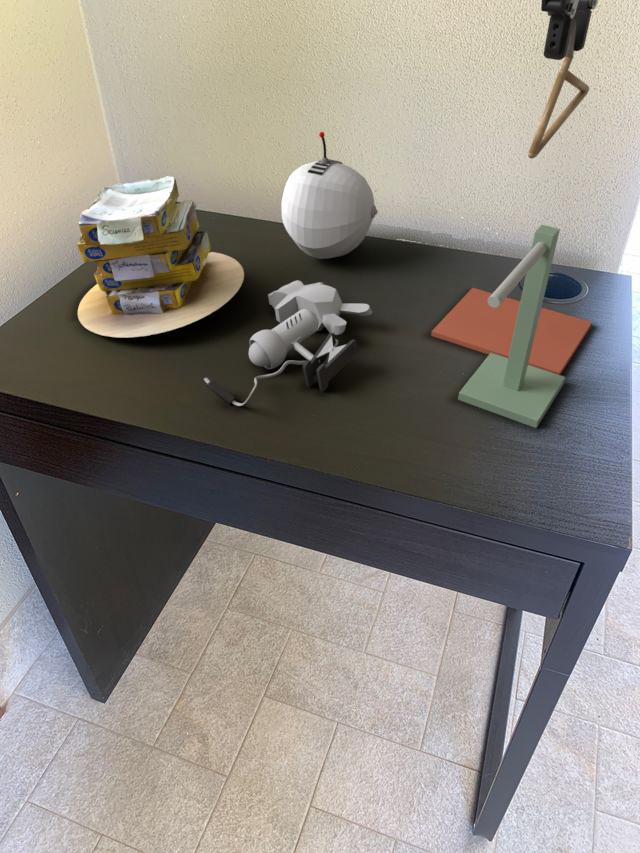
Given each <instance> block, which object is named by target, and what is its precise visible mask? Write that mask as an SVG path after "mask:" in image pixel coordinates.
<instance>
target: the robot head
mask: <svg viewBox="0 0 640 853" xmlns="http://www.w3.org/2000/svg"><path fill="white" fill-rule="evenodd" d="M318 137H319V138H321V141H322V148H323V157H322V158H321V159H320V160H315V161H312V162H308V163H306V164H303V165H301V166H299V167H298V168H296V169H294V170H293V171H292V173H291V174H290V175H289V177H288V179H287V181H286V183H285V186H284V189H283V193H282V198H281V203H280V204H281V219H282V220H281V221H282V223H283V226H284V229H285V231H286V232H287V233H288V236H290V238H291V239H292V241H293V242H294V243H295V245H297V247H298V248H299V249H300V250H301V251H302V252H303V253H304V254H306V255H308V256H310V257H311V258H314V259H319V260H323V259H324V260H326V259H333V258H337V257H343V256H346V255H348V254H350V253H351V252H352V251H354V250H355V249H356V248H358V247H359V245H360V244H361V243H362V242H363V241H364V239H365V238H366V236H367V234H368V233H369V230H370V228H371V226H372V223H373V219H375V217H376V215H377V214H378V212H379V211H378V209H377V207H376V205H375V198H374V193H373V190H372V188H371V186H370V184H369V183H368V181H367V180H366V178H365V177H364V176H363V175H362V174H360V172H358V171H357V170H355V169H354V168H352V167H351V166H348V165H346V164H344V163H343V162H342V161H340V160H334V159H330V158H328V157H327V144H326V139H325V132H323V131H320V132H319V133H318Z"/></svg>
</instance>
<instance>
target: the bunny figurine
mask: <svg viewBox="0 0 640 853" xmlns="http://www.w3.org/2000/svg"><path fill="white" fill-rule="evenodd" d="M267 297H268V298H267V299H268V303H269V304H268V305H270V306H272V308H273V309H274V313H275V319H276V321H277V322H278V323H279V324H281V323H282V322H284V321H285V320H286V319H288V318H289V317H291V316H292V315H294V314H295V313H297V312H298V311H300V310H302V309H307V310H310V311H312V312H314V313H315V315H316V316H317V318H318V323H319V325H318V329H317V331H316V332H320V331H322V330H323V329H324V328H325V329H326V331H328V332H329V333H328V334H330V333H331V332H332V333H334V334H335V336H338V335H342V334H343V333H344V332H345V330H346V327H347V321H346V320H345V319H343V318H342V317H341V314H347V315H348V314H349V315H357V316H363V317H367V316H371V315H372V314H373V311H372V309H371V306H370V305H369V304H368V303H358V302H357V303H356V302H355V303H353V302H352V303H350V302H349V303H348V302H347V303H346V302H345V303H343V301H342V299H341V297H340V294H339V292H338V290H337V288H334V287H333V286H330V285H327V284H324V282H315V283H310V284H304V283H303V282H302V281H301V280H299V279H298V280H294V281H292V282H289V283H288V284H285V285H282V286H281V287H279V288H278V289H277V290H274V291H272V292H270V293H268V294H267Z"/></svg>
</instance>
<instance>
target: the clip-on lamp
mask: <svg viewBox="0 0 640 853" xmlns="http://www.w3.org/2000/svg"><path fill="white" fill-rule="evenodd" d="M318 325H319V323H318V318H317V316H316V315H315V313H314V312H312V311H310V310H307V309H302V310H300V311H298V312H297V313H295V314H294V315H292V316H291V317H289V318H288V319H286V320H285V321H284V322H281V323H279V324H278V325H276V326H274V327H273V328H271V329H261V330H259V331H257V332H255V333H254V334H252V336H251V337H250V339H249V342H248V344H249V348H248V358H249V360H250V362H251V363H252V364H253V365H255V366H256V367H261V368H262V367H264V368H265V369H267V370H273V369H276V368H278V367H280V366H281V365H282V366H281V367H280V368H279V369H278V370H277V371H275V372H273V373H268V374H263V375H257V376H255V377H254V379H253V382H254V386H253V388H252V390H251V391H250V393H249V395H248V397H247V398H246V400H245V401H244V402H242V403H241V402H237V401H236V397H235V396H234V395H233V394H232V393H230V392H229V391H228V390H226V389H225V388H224V387H223V386H222V385H221V384H220V383H218V382H217V381H216V380H214V378H213V379H211V380H210V379H209V378H208V377H204V378H203V381H204V382H205V383H206V387H207V388H208V389H209V390H211V391H212V393H214V394H215V395H216V396H218V397H219V398H220V399H221V400H223V401H224V402H225V403H226V404H227V405H231V404H233V405H234V406H236V407H243V406H245V405H246V404H247V403H248V402H249V401H250V399H251V397H252V395H253V394H254V392H255V390H256V388H257V386H258V380H262V379H269V378H273V377H276V376H278V375H280V374H282V373H283V371H284V370H285V369H286V367H287V366H288V365H297V366H302V371H303V376H304V381H305V385H306V387H307V388H311V387H312V386H313V384H314V383H315V376H317V381H318V382H317V383H318V388H319V391H320V392H322V393H323V392H325V391H326V390H327V389H328V387H329V381H331V380H332V379H333V378H334V377H335V376H336V375H337V374H338V373H339V372H340V371H341V370H342V369H343V368H344V367H345V366H346V365H347V364H348V363H349V362H350V361H351V360H352V359H353V358H354V357H355V356H356V355H357V352H358V343H357V342H358V341H357V340H356V339H351V340H349V341H348V342H347V343H346V344H343V345H340V346H338V345H339V340H338V339H336V335H335V334H334V333H332V332H331V333H328V335H327V336H326V337H325V339H324V341H323V342H322V343H321V345H320V346H319V348H318V349H317V350H316V352H315V353H314V354H313V353H312V352H311V351H310V350H308V349H307V348H306V347H304V346H303V345H302V344H301V343H303V342H304V341H305V340H307V339H308V338H310V336H311V337H312V335H313V334H315V333H316V332H318V331H317V329H318ZM293 349H294V351H296V352H297V353H298V354H300V356H302V357H303V358H305V359H306V360H293V359H291V360H286V357H287V355H288V353H289V352H290V351H292V350H293ZM285 360H286V361H285ZM284 361H285V362H284Z"/></svg>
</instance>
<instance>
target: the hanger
mask: <svg viewBox="0 0 640 853" xmlns="http://www.w3.org/2000/svg"><path fill="white" fill-rule="evenodd" d="M575 33H576V21H575V20H573V25H572V30H571V35H570V40H569V45H568V50H567V54H566V57H565V58H563V61H562V64H561V67H560V69H559V71H558V73H557V76H556V77H555V78H556V79H555V81H554V84H553V86H552V89H551V91H550V94H549V97H548V100H547V102H546V105H545V108H544V110H543V112H542V115H541V118H540V121H539V123H538V126H537V129H536V132H535V134H534V136H533V140H532V142H531V145H530V147H529V150H528V152H527V156H528V158H529V159H534V158H537V157H538V155H539V154H540V153H541V152H542V150H543V149H544V148H545V147H546V146H547V144H548V143H549V142H550V140H552V138H553V137H554V136H555V134H556V133H557V132H558V131H559V130H560V129H561V127H562V126H563V125H564V123H565V122H566V121H567V120H568V118H569V117H570V115H571V114H573V112H574V111H575V110H576V108H578V106H579V105H580V103H581V102H582V101H583V100H584V99H585V97H586V96H587V95H588V94H589V92H590V86H589V85H588V84H587V83H585V81H583V80H582V79H580V78H579V77H578V76H576V75H575V74H574V73H572V72H571V71H570V70H569V69H570V66H571V64H572V62H573V60H574V54H575V51H574V44H575ZM565 82H567V83H568V84H570V85H571V86H573V87H574V88H575V89H577V90H578V92H577V93H576V95H575V96H574V97H573V98H572V99H571V100H570V102H569V103H568V104H567V106H566V107H565V108H564V109H563V111H562V112H561V113H560V114H559V115H558V117H557V118H556V119H555V121H554V122H553V123H552V124H551V126H550V127H549V128H548V125H549V122H550V120H551V117H552V114H553V113H554V110H555V107H556V104H557V102H558V99H559V96H560V93H561V91H562V88H563V85H564V83H565ZM547 128H548V129H547Z"/></svg>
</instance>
